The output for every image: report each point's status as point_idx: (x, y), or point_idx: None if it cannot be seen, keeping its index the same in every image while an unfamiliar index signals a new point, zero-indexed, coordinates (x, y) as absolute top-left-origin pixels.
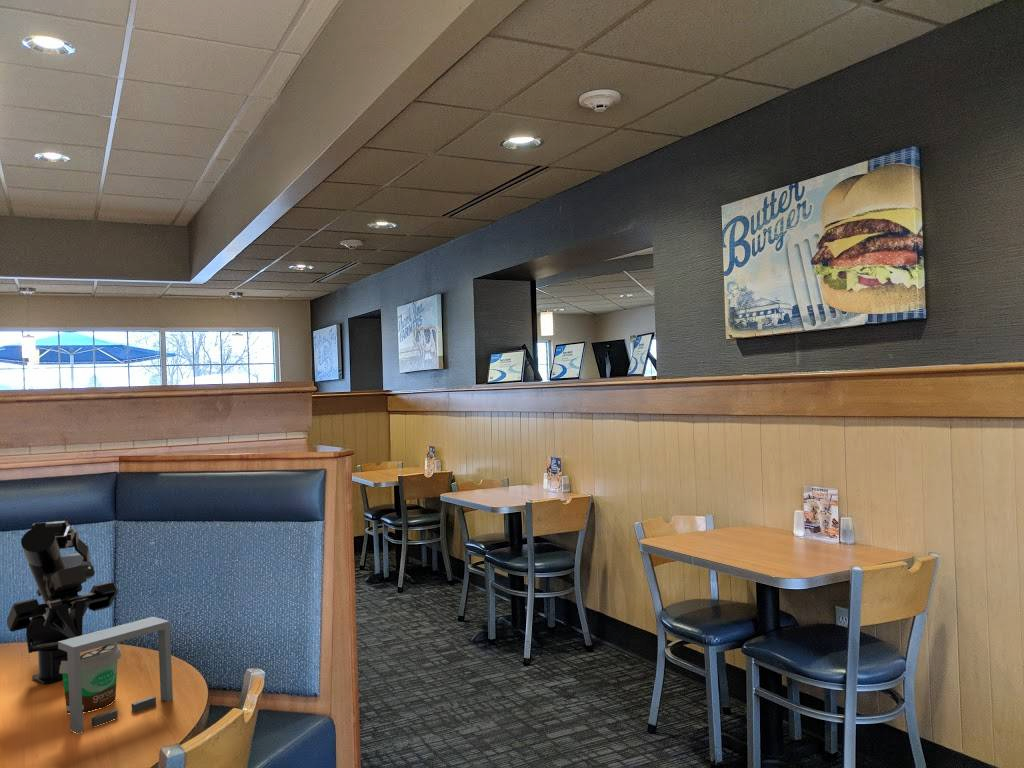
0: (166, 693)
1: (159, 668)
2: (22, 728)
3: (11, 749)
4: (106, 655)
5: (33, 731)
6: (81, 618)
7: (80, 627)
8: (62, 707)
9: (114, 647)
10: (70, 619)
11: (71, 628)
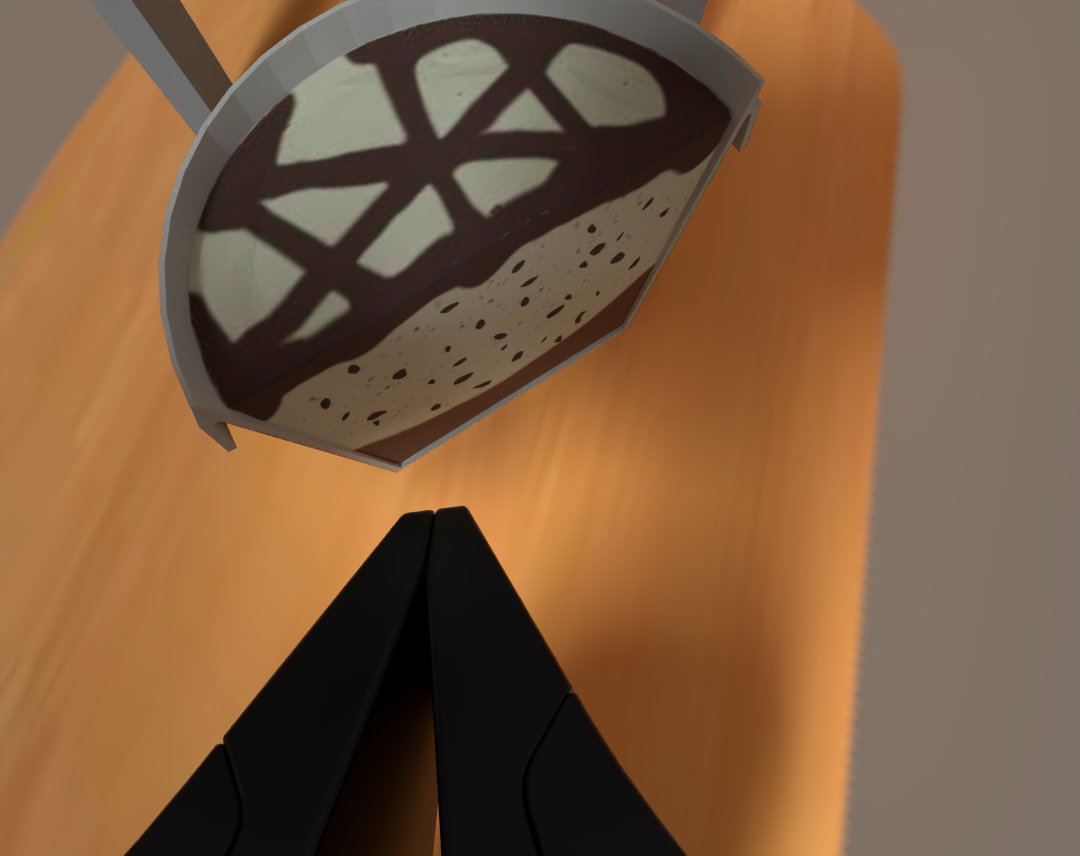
0: (226, 82)
1: (145, 17)
2: (826, 323)
3: (889, 127)
4: (393, 4)
5: (791, 246)
6: (171, 828)
7: (342, 629)
8: (618, 457)
9: (219, 220)
10: (476, 838)
11: (515, 619)
